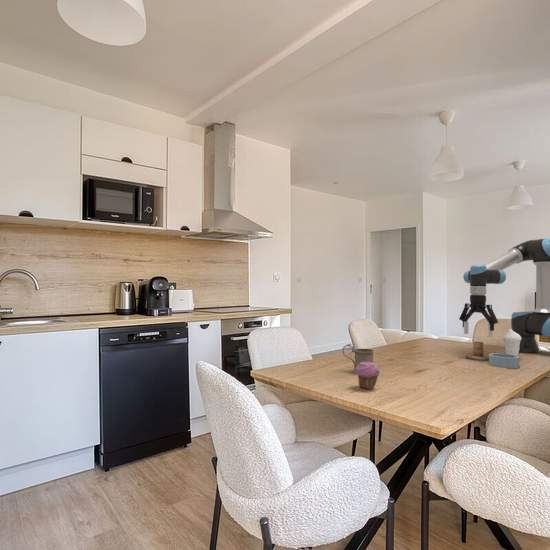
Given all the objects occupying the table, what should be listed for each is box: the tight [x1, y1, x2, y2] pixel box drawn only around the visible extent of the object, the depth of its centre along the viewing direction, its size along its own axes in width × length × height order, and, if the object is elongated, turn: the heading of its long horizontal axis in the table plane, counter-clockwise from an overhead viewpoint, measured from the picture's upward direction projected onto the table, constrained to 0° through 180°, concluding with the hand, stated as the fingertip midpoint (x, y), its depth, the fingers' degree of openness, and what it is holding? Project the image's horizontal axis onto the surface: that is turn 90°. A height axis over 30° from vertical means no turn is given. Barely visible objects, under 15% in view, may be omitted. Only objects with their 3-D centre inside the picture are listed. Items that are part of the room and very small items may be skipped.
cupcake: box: [355, 362, 380, 391], centre depth 148 cm, size 9×9×10 cm
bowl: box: [488, 352, 520, 370], centre depth 187 cm, size 12×12×5 cm
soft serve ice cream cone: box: [502, 328, 521, 356], centre depth 204 cm, size 8×8×16 cm
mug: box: [342, 343, 375, 374], centre depth 175 cm, size 14×10×12 cm
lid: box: [465, 341, 489, 362], centre depth 203 cm, size 12×12×8 cm
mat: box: [458, 355, 489, 363], centre depth 203 cm, size 14×14×1 cm
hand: (477, 335), depth 203 cm, fingers open, 13 cm apart
